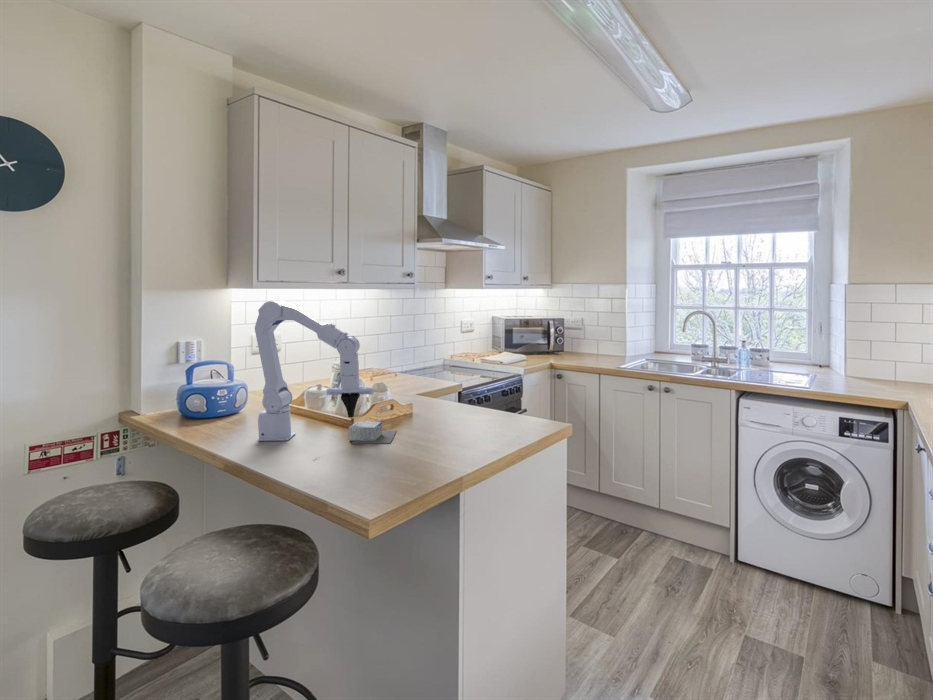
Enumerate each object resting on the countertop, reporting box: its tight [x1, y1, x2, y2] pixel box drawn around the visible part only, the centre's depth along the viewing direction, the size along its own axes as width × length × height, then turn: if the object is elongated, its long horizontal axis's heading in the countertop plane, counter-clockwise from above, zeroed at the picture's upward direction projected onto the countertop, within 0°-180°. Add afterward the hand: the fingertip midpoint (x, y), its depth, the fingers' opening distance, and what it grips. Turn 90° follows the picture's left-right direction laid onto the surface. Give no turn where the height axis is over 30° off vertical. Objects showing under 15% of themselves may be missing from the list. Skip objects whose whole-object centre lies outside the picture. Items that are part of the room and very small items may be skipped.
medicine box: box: [348, 420, 383, 442], centre depth 164 cm, size 8×4×9 cm
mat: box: [351, 430, 397, 445], centre depth 165 cm, size 12×14×1 cm
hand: (351, 416), depth 164 cm, fingers closed
